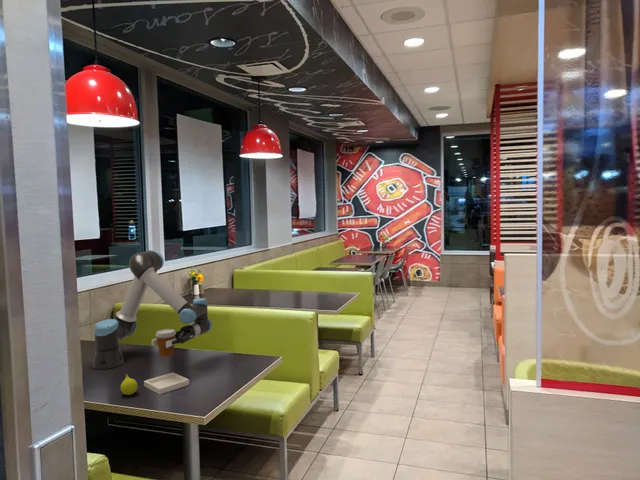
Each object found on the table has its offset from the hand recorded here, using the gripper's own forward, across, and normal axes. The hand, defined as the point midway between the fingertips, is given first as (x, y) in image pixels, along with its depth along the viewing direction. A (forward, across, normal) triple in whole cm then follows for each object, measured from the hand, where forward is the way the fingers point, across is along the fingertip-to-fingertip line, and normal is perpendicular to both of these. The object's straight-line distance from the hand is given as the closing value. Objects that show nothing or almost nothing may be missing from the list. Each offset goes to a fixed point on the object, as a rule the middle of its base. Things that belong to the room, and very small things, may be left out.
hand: (159, 343), depth 224 cm
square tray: (+4, -7, -18) cm, 20 cm away
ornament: (+19, +2, -18) cm, 26 cm away
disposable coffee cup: (-5, 0, -7) cm, 9 cm away
